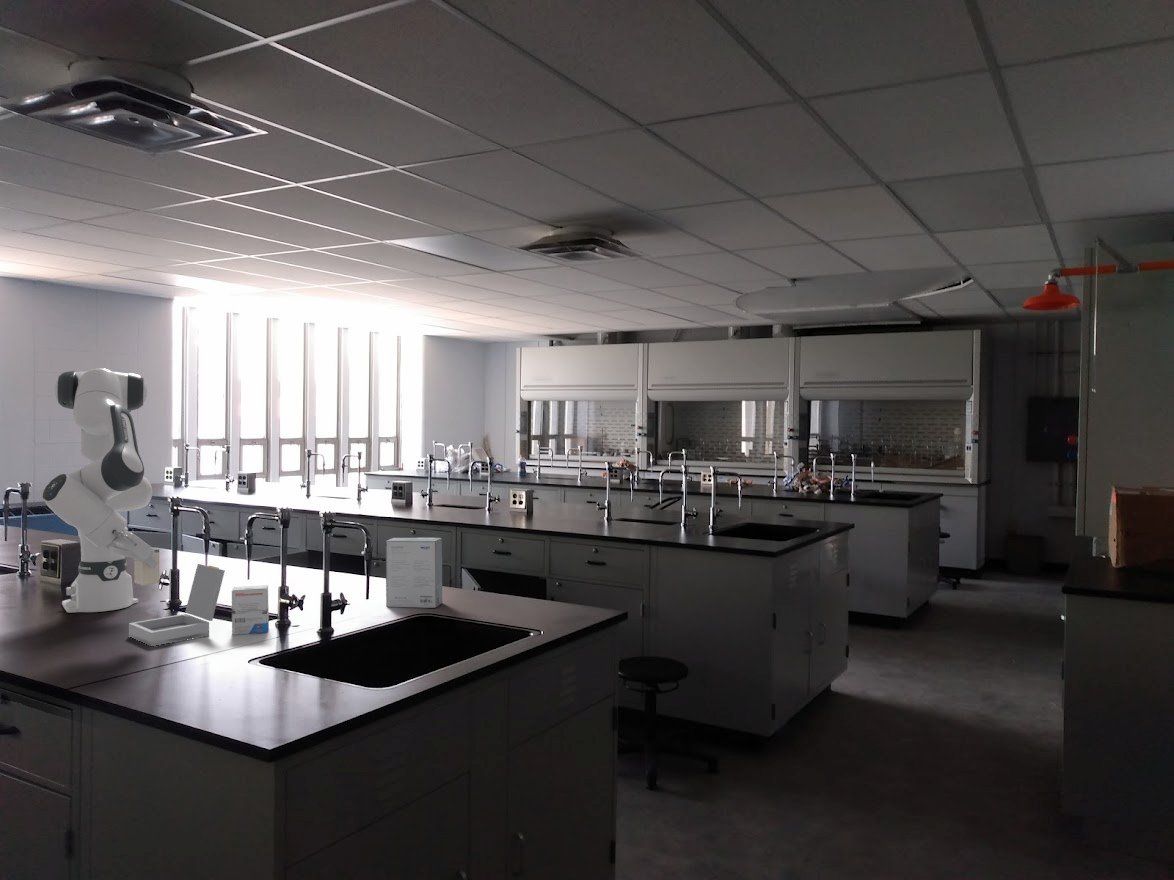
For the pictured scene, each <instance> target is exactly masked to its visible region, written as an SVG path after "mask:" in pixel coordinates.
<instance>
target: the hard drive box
mask: <svg viewBox="0 0 1174 880" xmlns="http://www.w3.org/2000/svg"><path fill="white" fill-rule="evenodd" d="M442 540H443V539H442V537H392V538H389V539H387V540H385V598H386V600H385V601H386V603H385V604H386V607H387V608H419V609H423V608H424V609H427V608H428V609H429V608H431V609H432V608H437V607H439V606H440V605H441V604H443V549H442V548H443V541H442Z"/></svg>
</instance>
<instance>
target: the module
mask: <svg viewBox="0 0 1174 880" xmlns="http://www.w3.org/2000/svg"><path fill="white" fill-rule="evenodd" d="M151 547H152V546H151ZM152 548H153V549H154V551H155V553H154V554H153V555H152V558H153V559H154V560H155V561H156V562H157V563H158V565H157V566H156V567H155V568H150V567H149V566H148V565H146V563H144V562H142V561H139V560H136V559H134V560H133V561H134V563H133V564H134V565H133V566H134V571H133V572H134V573H133V574H134V584H137V585H140V586H142V587H143V586H149V585H154V584H155V585H157V584H160V549H159V548H156V547H152Z"/></svg>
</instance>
